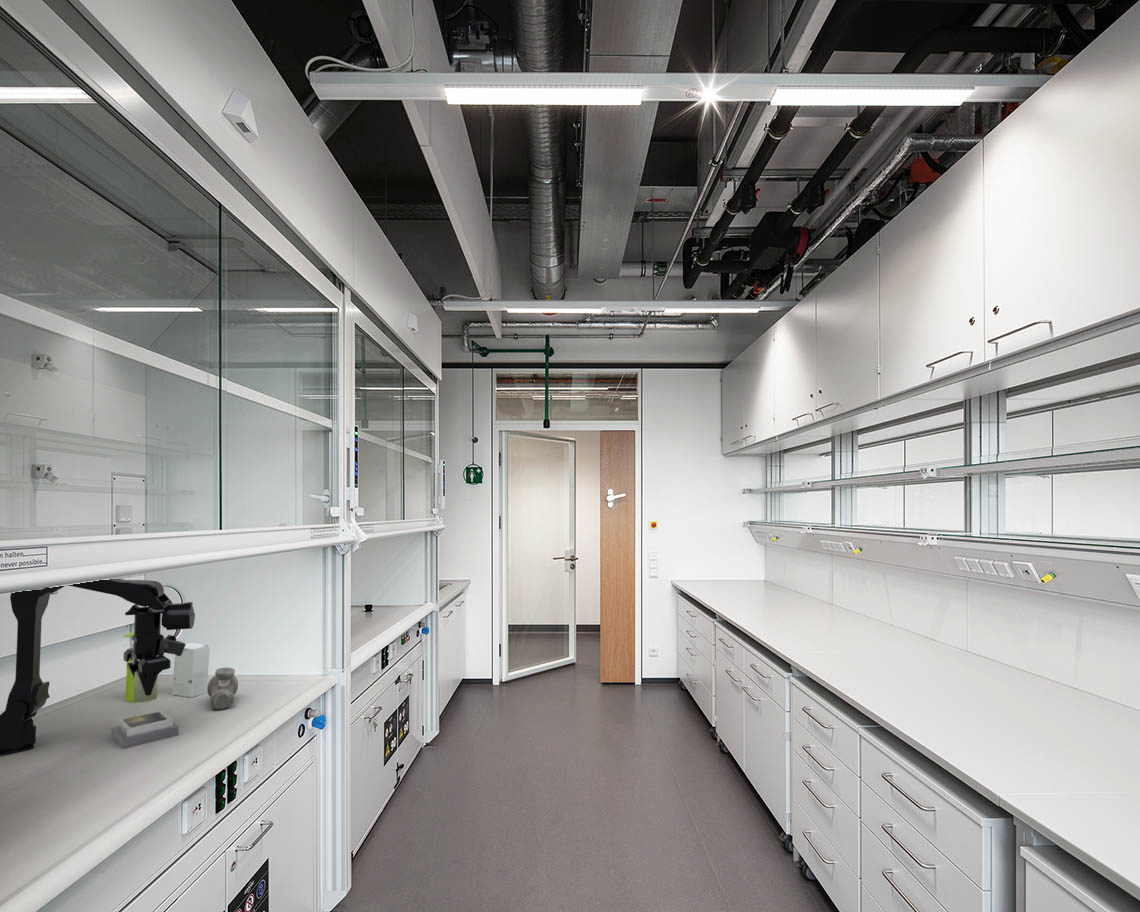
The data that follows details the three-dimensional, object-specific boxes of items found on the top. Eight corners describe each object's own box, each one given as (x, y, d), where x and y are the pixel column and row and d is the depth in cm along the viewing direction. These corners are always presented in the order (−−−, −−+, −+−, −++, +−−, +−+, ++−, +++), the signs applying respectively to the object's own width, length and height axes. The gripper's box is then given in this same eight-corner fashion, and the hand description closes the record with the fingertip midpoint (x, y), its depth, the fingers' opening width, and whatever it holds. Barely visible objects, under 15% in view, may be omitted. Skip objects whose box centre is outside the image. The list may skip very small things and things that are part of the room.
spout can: (136, 703, 164) (137, 667, 164) (131, 699, 167) (132, 663, 168) (159, 698, 167) (160, 663, 168) (153, 694, 171) (154, 659, 171)
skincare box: (171, 695, 199) (172, 646, 200) (189, 689, 205) (190, 641, 206) (192, 698, 196) (193, 648, 197) (209, 692, 202) (210, 643, 203)
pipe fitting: (206, 699, 194) (210, 664, 194) (236, 697, 198) (240, 663, 198) (203, 716, 183) (207, 680, 183) (235, 714, 187) (239, 678, 187)
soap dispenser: (117, 701, 194) (119, 633, 195) (142, 694, 200) (143, 628, 201) (129, 704, 191) (130, 635, 192) (153, 697, 197) (155, 630, 198)
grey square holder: (122, 748, 158) (123, 731, 159) (110, 735, 167) (111, 719, 167) (178, 734, 167) (178, 719, 167) (164, 723, 175) (164, 708, 175)
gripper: (193, 631, 167) (192, 693, 167) (171, 621, 180) (170, 679, 180) (143, 639, 159) (141, 704, 159) (123, 627, 172) (122, 688, 171)
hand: (145, 693), depth 167 cm, fingers closed on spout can, 5 cm apart
